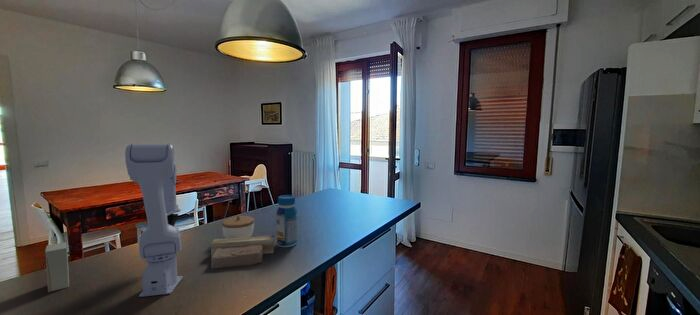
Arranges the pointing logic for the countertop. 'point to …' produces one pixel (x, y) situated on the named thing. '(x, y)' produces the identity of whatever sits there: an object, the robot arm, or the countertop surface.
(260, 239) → the batten
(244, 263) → the brick
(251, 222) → the white round tub
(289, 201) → the beverage bottle
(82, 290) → the countertop surface
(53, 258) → the skincare box
